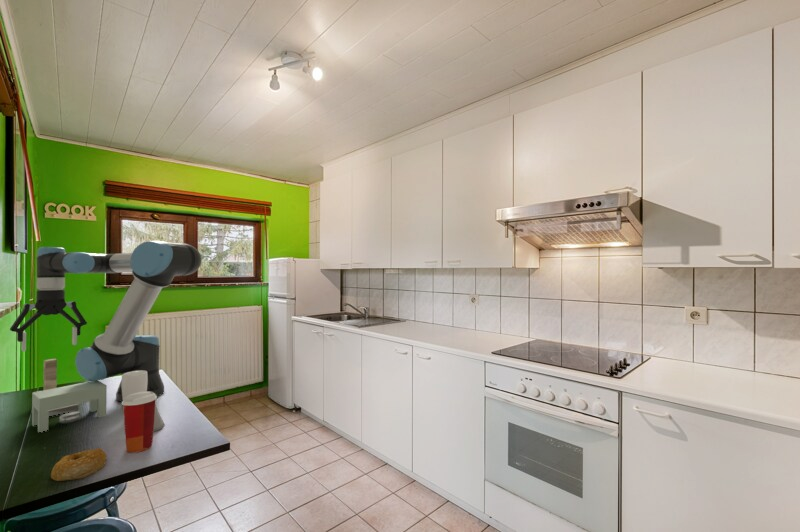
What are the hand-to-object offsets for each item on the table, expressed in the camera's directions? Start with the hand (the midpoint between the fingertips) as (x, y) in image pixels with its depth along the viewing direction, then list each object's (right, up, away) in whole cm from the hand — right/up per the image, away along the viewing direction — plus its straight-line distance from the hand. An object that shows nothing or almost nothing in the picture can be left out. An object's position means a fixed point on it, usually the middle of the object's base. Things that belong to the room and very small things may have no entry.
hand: (50, 347), depth 134 cm
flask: (+53, -20, -24) cm, 61 cm away
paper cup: (+58, -19, -36) cm, 71 cm away
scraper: (+7, -20, -5) cm, 22 cm away
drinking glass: (+43, -20, -17) cm, 50 cm away
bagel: (+52, -19, -47) cm, 72 cm away
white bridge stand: (+22, -20, -16) cm, 34 cm away
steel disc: (+22, -20, -16) cm, 34 cm away
